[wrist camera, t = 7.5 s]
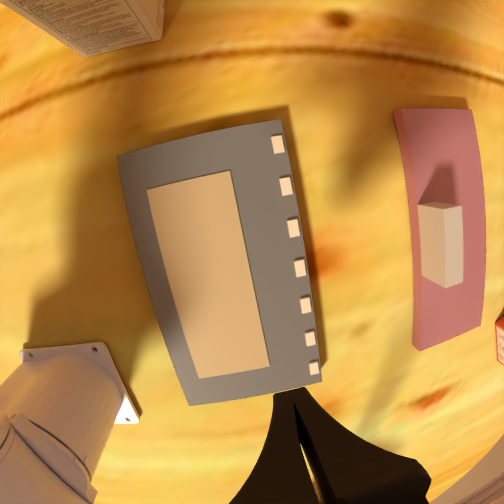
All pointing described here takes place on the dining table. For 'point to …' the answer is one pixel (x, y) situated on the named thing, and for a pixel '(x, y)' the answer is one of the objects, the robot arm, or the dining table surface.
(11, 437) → the robot arm
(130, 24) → the skincare box
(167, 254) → the ticket
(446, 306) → the pink board with handle
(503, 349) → the cracker box
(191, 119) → the dining table surface
